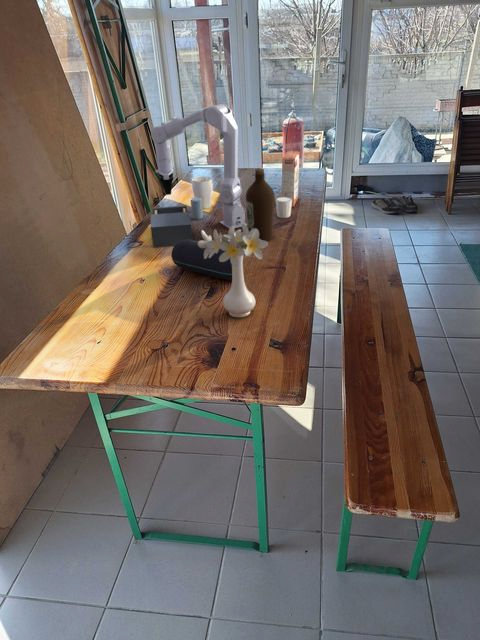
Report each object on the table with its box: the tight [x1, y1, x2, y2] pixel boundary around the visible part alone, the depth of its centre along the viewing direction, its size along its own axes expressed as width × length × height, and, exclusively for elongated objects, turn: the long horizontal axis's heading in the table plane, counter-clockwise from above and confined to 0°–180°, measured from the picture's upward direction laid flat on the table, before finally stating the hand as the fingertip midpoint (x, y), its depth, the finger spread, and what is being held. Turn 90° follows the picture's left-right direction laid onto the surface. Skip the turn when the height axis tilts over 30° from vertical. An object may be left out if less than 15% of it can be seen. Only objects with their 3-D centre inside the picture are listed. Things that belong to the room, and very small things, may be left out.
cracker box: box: [281, 150, 301, 208], centre depth 218 cm, size 14×6×21 cm, turn 168°
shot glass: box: [275, 196, 292, 219], centre depth 208 cm, size 7×7×7 cm
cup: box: [191, 176, 214, 210], centre depth 218 cm, size 9×9×12 cm
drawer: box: [152, 205, 188, 214], centre depth 197 cm, size 15×13×6 cm
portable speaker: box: [170, 239, 245, 281], centre depth 160 cm, size 25×10×10 cm, turn 59°
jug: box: [190, 197, 204, 221], centre depth 207 cm, size 6×4×8 cm
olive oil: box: [245, 168, 276, 242], centre depth 182 cm, size 11×11×25 cm
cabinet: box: [150, 211, 194, 248], centre depth 187 cm, size 15×15×8 cm
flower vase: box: [198, 224, 269, 318], centre depth 134 cm, size 13×18×25 cm
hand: (168, 193), depth 204 cm, fingers open, 3 cm apart
